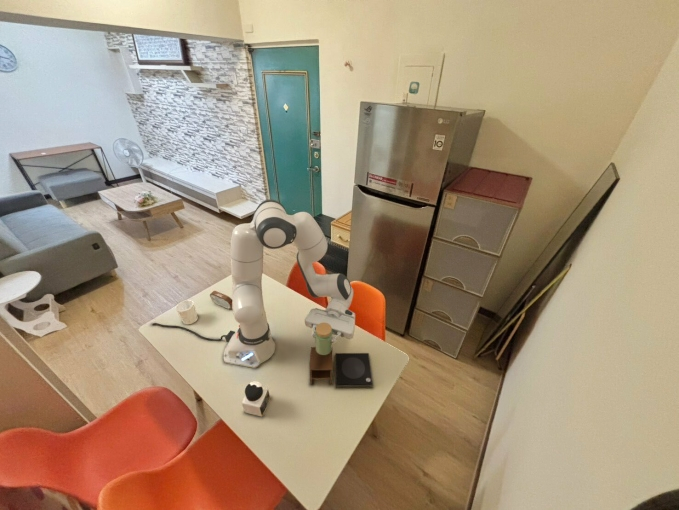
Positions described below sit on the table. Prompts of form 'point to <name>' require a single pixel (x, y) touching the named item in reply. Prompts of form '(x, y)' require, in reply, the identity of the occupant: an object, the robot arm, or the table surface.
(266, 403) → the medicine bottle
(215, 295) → the tin
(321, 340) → the jar
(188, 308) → the white cup
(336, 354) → the hot plate
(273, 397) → the table surface
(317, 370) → the wooden cubby
